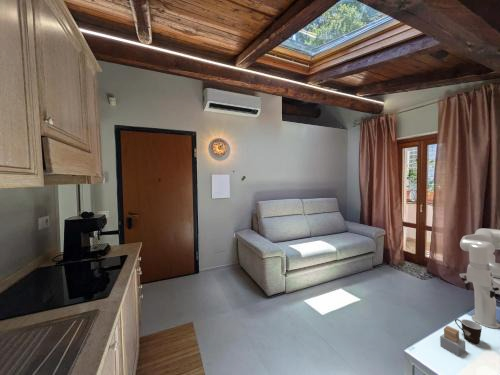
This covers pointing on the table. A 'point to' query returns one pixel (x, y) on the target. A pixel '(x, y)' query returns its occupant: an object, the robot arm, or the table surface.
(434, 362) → the table surface
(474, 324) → the coffee mug
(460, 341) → the stoneware box
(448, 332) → the walnut block
